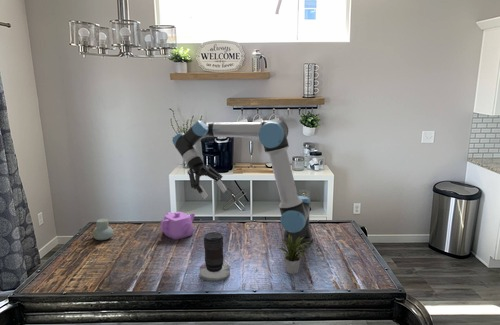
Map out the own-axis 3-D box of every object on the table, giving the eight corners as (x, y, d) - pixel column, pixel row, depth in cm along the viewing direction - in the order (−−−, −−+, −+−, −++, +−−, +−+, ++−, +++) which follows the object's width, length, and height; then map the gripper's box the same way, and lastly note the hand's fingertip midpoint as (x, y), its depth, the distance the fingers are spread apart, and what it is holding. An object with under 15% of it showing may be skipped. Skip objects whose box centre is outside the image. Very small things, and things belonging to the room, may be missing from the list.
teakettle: (166, 227, 214) (165, 207, 212) (196, 228, 214) (195, 207, 211) (158, 240, 198) (157, 217, 195) (190, 240, 197) (189, 218, 194)
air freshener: (115, 239, 199) (114, 221, 197) (99, 243, 193) (98, 225, 191) (107, 233, 207) (105, 215, 204) (91, 237, 201) (90, 219, 199)
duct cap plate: (232, 268, 168) (232, 261, 167) (226, 283, 155) (226, 276, 154) (203, 266, 169) (203, 260, 169) (196, 281, 157) (195, 274, 156)
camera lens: (202, 265, 164) (201, 233, 161) (220, 262, 166) (220, 230, 163) (207, 274, 156) (206, 240, 153) (226, 270, 159) (225, 237, 156)
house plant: (301, 284, 155) (302, 247, 151) (270, 275, 161) (271, 240, 158) (313, 269, 167) (314, 234, 163) (284, 262, 173) (285, 228, 170)
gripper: (206, 160, 201) (228, 192, 195) (170, 169, 181) (193, 204, 176) (213, 152, 197) (236, 184, 191) (177, 159, 177) (201, 196, 171)
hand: (216, 194), depth 183 cm, fingers open, 13 cm apart
